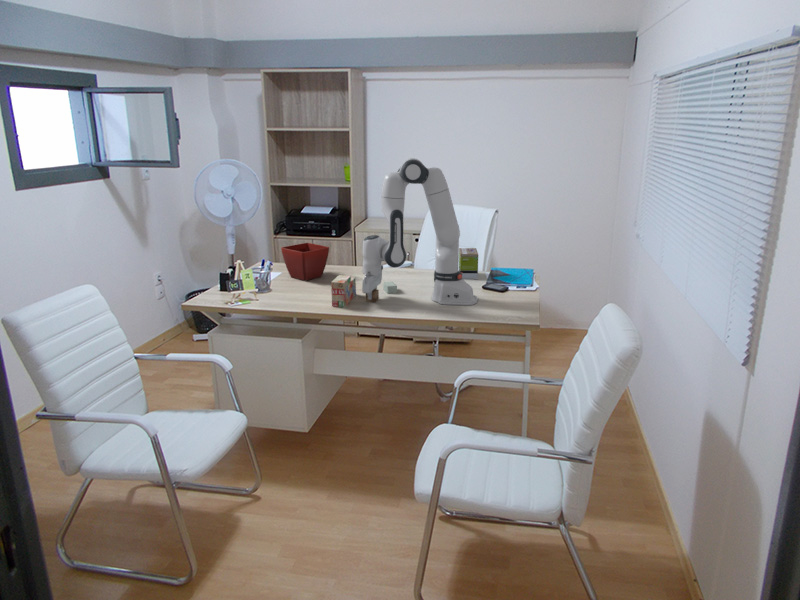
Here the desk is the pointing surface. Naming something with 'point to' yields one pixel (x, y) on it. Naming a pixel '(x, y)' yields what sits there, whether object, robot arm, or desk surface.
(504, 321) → the desk surface
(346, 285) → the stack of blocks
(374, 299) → the walnut cube
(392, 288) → the sage block
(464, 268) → the tea box
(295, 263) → the plant pot
